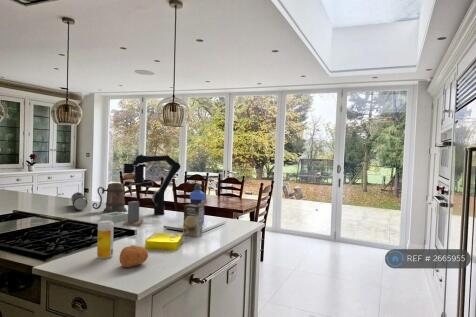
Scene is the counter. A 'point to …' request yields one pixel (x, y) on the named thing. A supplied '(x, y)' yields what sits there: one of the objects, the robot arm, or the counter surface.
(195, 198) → the water bottle
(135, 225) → the pad
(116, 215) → the socket block
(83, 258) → the counter surface
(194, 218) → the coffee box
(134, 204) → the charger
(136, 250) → the potato
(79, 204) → the muzzle brake
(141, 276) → the counter surface
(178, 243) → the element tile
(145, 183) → the robot arm
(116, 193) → the tankard
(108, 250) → the white yellow canister
